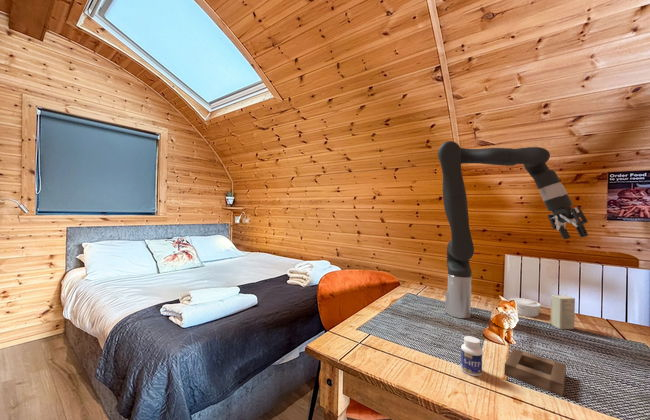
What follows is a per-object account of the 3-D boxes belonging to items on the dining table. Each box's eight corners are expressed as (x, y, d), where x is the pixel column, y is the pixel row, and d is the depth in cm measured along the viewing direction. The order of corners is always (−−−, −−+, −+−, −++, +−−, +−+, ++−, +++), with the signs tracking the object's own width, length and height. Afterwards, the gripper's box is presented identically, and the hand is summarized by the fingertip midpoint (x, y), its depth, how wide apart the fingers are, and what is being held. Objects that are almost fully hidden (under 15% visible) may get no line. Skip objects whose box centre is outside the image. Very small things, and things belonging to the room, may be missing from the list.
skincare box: (564, 324, 109) (565, 294, 109) (575, 329, 104) (575, 298, 104) (549, 324, 108) (550, 294, 108) (559, 329, 104) (560, 298, 104)
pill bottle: (461, 374, 73) (462, 341, 73) (459, 363, 78) (460, 333, 78) (483, 378, 72) (484, 345, 72) (479, 368, 76) (480, 336, 77)
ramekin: (542, 320, 113) (542, 307, 113) (510, 314, 119) (510, 302, 119) (538, 312, 122) (538, 300, 122) (509, 307, 128) (509, 296, 128)
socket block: (504, 374, 74) (504, 363, 74) (513, 358, 82) (513, 348, 82) (562, 396, 65) (563, 384, 65) (565, 375, 74) (566, 364, 74)
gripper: (533, 203, 109) (552, 242, 106) (557, 195, 96) (579, 238, 92) (552, 198, 109) (571, 236, 105) (579, 188, 95) (602, 232, 91)
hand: (575, 237), depth 98 cm, fingers open, 8 cm apart
